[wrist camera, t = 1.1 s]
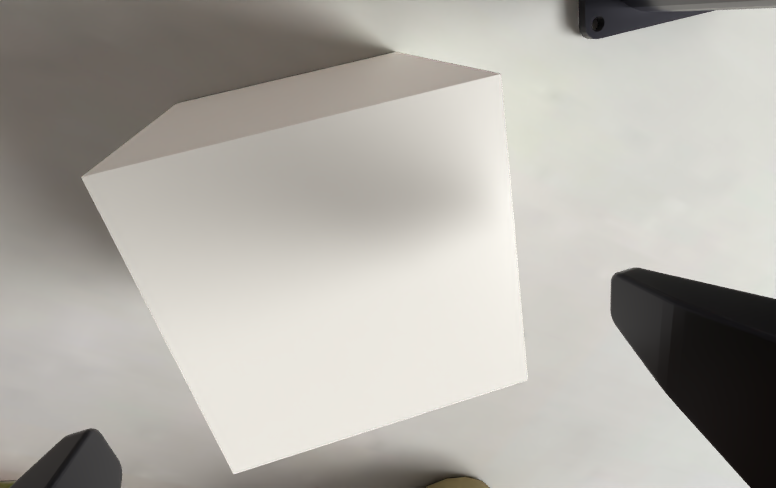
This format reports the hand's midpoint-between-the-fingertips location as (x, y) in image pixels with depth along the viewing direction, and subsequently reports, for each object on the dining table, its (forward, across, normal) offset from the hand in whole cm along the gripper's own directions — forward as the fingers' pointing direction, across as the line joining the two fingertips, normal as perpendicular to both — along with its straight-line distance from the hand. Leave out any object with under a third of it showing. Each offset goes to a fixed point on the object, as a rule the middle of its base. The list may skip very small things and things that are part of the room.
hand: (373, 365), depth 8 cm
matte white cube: (+11, 0, 0) cm, 11 cm away
